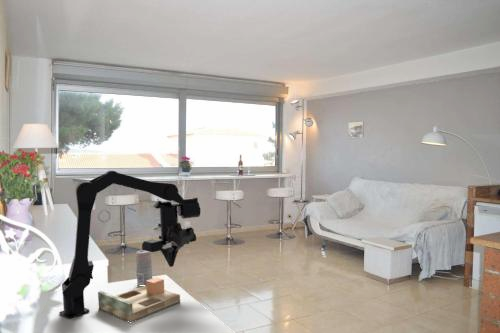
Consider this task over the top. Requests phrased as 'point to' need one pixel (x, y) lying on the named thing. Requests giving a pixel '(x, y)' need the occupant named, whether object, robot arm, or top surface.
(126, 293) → the board
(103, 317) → the top surface
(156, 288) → the block
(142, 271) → the energy drink
